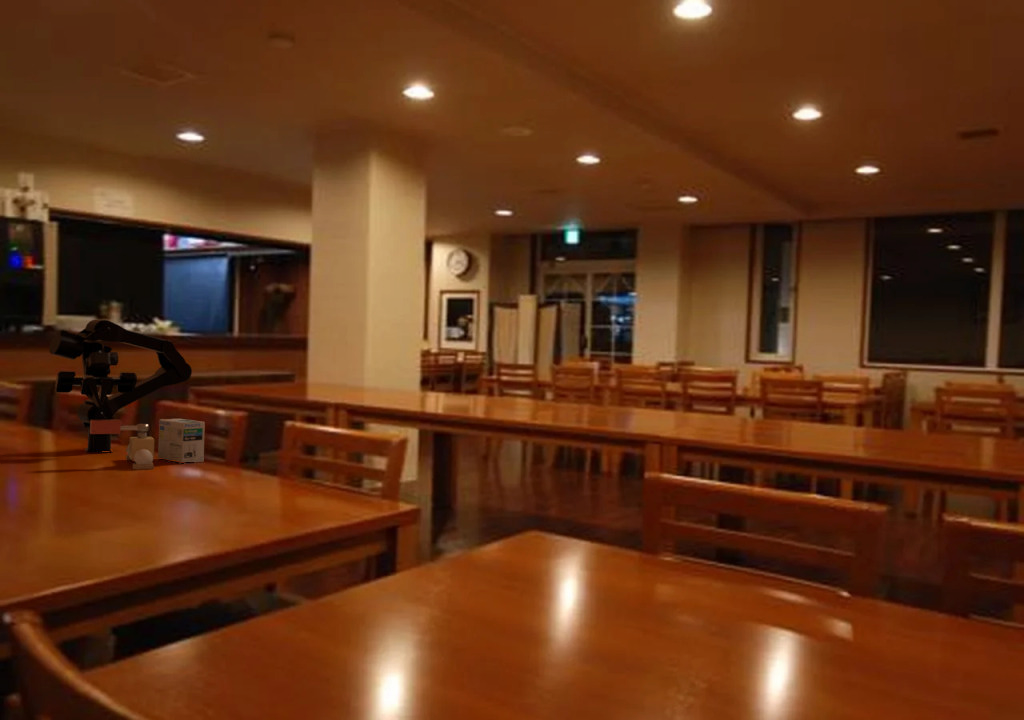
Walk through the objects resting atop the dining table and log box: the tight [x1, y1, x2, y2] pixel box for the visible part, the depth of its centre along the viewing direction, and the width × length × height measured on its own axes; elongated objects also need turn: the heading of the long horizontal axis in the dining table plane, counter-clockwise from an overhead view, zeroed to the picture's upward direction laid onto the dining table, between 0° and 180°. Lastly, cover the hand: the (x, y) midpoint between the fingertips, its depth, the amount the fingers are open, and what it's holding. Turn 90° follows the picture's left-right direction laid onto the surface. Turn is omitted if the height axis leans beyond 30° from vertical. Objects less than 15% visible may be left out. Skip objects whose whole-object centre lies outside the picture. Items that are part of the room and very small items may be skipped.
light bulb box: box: [157, 418, 206, 463], centre depth 214 cm, size 11×7×11 cm, turn 58°
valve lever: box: [90, 419, 150, 435], centre depth 200 cm, size 3×13×3 cm, turn 122°
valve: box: [125, 431, 155, 470], centre depth 205 cm, size 17×5×8 cm, turn 32°
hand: (100, 406), depth 210 cm, fingers closed
